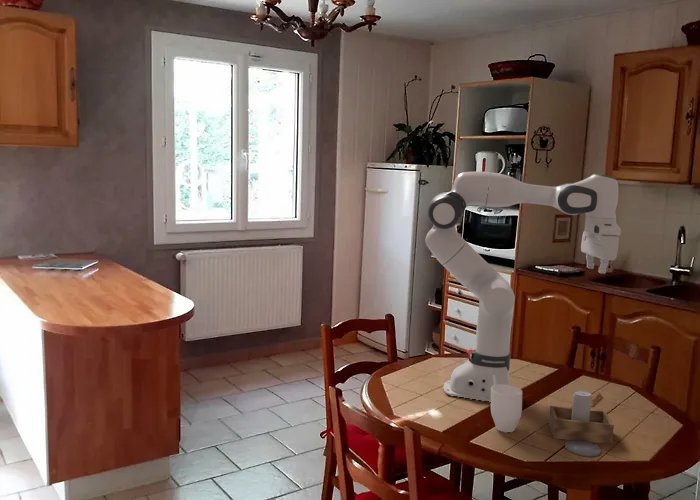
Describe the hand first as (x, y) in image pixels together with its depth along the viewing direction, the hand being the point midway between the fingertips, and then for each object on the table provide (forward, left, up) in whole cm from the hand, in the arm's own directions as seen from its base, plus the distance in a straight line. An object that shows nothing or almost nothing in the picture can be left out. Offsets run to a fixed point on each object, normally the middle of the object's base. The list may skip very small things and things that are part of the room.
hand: (595, 270), depth 197 cm
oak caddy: (-6, -24, -44) cm, 50 cm away
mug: (-27, -24, -44) cm, 57 cm away
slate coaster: (-7, -34, -44) cm, 56 cm away
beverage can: (-6, -24, -44) cm, 51 cm away
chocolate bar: (+4, +6, -45) cm, 45 cm away
